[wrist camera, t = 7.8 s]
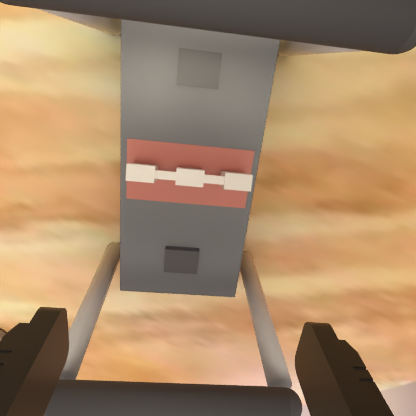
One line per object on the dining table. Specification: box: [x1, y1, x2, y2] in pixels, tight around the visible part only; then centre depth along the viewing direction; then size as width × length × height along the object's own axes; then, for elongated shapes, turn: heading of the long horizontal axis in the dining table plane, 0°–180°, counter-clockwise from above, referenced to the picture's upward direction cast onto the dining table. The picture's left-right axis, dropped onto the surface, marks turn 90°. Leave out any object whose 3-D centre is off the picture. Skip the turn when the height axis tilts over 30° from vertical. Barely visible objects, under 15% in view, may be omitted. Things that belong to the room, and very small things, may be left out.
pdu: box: [40, 9, 363, 388], centre depth 24 cm, size 16×24×16 cm, turn 174°
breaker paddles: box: [126, 163, 253, 192], centre depth 25 cm, size 9×1×3 cm, turn 84°
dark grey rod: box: [44, 379, 302, 416], centre depth 20 cm, size 16×2×2 cm, turn 84°
